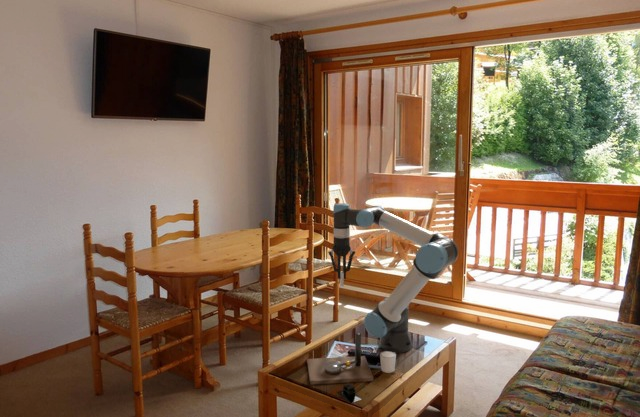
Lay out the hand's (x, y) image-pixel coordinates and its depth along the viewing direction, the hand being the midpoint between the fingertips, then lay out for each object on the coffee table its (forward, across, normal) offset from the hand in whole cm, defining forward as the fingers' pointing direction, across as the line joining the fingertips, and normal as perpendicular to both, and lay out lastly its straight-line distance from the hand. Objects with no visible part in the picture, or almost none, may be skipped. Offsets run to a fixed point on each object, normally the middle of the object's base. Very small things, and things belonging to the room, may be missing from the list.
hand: (341, 285), depth 231 cm
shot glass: (+30, -16, +28) cm, 44 cm away
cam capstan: (+27, +3, +28) cm, 40 cm away
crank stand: (+29, +5, +27) cm, 40 cm away
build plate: (+30, +4, +47) cm, 56 cm away
